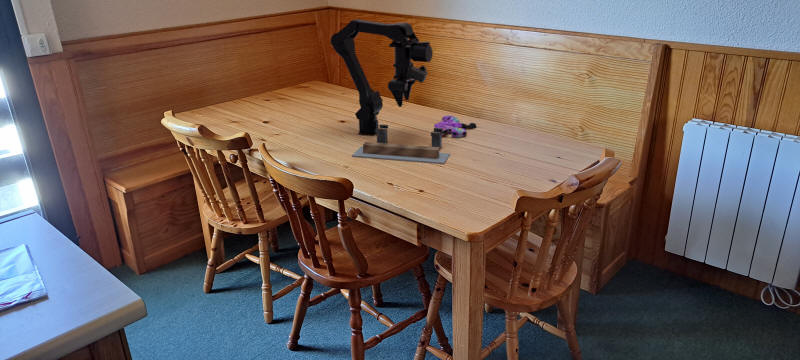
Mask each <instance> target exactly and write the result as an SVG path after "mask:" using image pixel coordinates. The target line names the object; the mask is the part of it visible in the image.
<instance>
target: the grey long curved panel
mask: <svg viewBox="0 0 800 360" xmlns="http://www.w3.org/2000/svg"><path fill="white" fill-rule="evenodd" d="M450 155H451V154H450V153H447V152H439V157H438V159H433V158H420V157H407V156H394V155H382V154H369V153H363V146H360V147H359V148H358V149H357V150H356V151H355V152H354V153H353V154H352V155H351V157H352V158H361V159H362V158H364V159H373V160H375V159H376V160H387V161H388V160H389V161H400V162H402V161H403V162H412V163H413V162H415V163H423V164H437V165H438V164H439V165H446V162H447V161H448V159H449V157H450Z"/></svg>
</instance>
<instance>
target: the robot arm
mask: <svg viewBox="0 0 800 360" xmlns="http://www.w3.org/2000/svg"><path fill="white" fill-rule="evenodd" d="M359 33H364V34H372V35H378V36H383V37H386V38H388V39H389V40H392V42H391V43H390V44H388V47H389V48H394V63H392V64H393V65H392V66H393V67H394V75H393V78H392V79H391V80H390V81H389V82H388V83H387V89H388V90H389V91H390V93H391V94H392V96H393V98H394V101H395V102H396V105H397V106H398V107H399V108H402V107H403V102H404V99H405V101H410V100H409V99H410V95H411V91H412V87H413V85H414V84H415V83H417V82H418V83H424V82H425V81H426V78H427V75H428V71H427V66H424V65H420V67H416V66H414V62H422V63H430V62H431V60H432V59H433V52H434V51H433V49H432V46H431V45H430V41H420V40H419V38H418V37H417V35H416V34H415V32H414V29H413V27H412V25H411V23H408V22H396V23H384V22H383V23H382V22H379V21H378V22H377V21H370V20H363V19H361V18H356V19H352V20H351V21H349V23H347V25H345V26H344V27H343V28H342V29H340V30H338V32H334V33H333V34H332V35H331V38H330V44H331V46H332V48H333V49H334V51H335V53H337V54H338V56H340V57H341V58H342V59H343V62H344V63H345V66H346V68H347V71H348V72H349V75H350V77H351V79H352V81H353V84H354V85H355V88H356V90H357V92H358V104H359V107H360V108H359V109H358V110H357V111H356V112H355V113H354V114H355V117H356V119H357V120H358V129H359V131H358V132H357V134H358V135H366V136H367V135H369V136H375V135H377V132H376V131H375V129H376V128H379V129H380V124H379V120H378V115H379V114H380V111H381V110H382V108H383V106H384V104H383V101H384V99H383V98H382V97H381V93H380V92H379V90H376V91H374V89H372V87H371V84H370V82H369V81H368V79H367V77H366V76H367V75H366V74H365V72H364V70H363V67H362V65H361V63H360V61H359V58H358V57H357V54H356V43H355V41H354V39H356V38H357V36H358V35H359Z"/></svg>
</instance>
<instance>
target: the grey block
mask: <svg viewBox="0 0 800 360" xmlns="http://www.w3.org/2000/svg"><path fill="white" fill-rule="evenodd" d="M439 132H443V128H435V127H434V128H433V131H431V132H430V136H431V147H439V150H441V148H442V146H443V145H442V144H443V142H442V140H443V134H442V133H439Z"/></svg>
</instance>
